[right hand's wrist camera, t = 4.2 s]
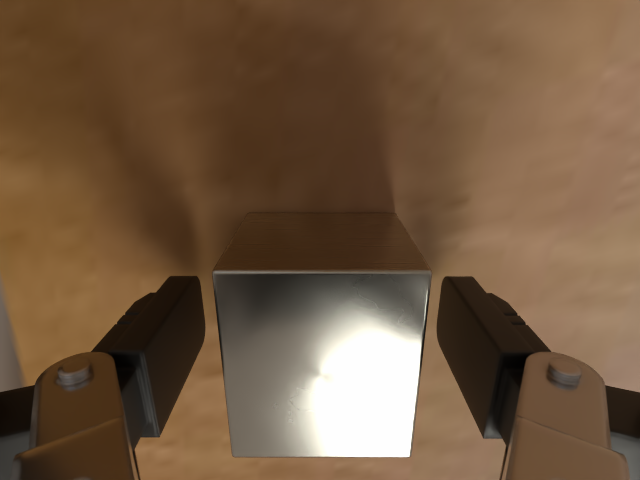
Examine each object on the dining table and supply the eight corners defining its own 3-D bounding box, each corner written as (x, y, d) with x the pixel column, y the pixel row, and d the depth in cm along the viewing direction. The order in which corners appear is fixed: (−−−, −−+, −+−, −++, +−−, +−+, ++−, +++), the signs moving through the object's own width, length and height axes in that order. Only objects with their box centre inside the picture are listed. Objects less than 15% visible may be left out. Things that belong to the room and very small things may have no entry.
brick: (385, 354, 13) (412, 459, 10) (256, 354, 13) (231, 459, 10) (395, 212, 12) (433, 271, 8) (247, 211, 12) (210, 270, 8)
